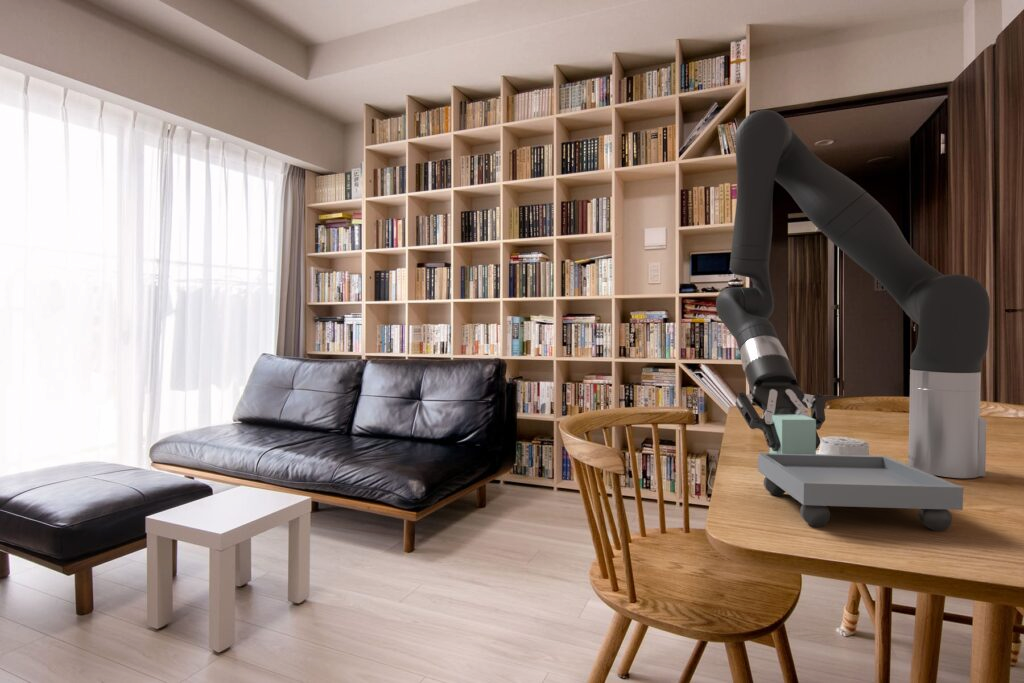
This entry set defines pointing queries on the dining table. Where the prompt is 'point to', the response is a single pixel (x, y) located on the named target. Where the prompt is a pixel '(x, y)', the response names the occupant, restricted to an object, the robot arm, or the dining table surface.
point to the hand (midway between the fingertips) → (795, 448)
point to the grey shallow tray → (859, 486)
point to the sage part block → (795, 434)
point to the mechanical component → (842, 446)
